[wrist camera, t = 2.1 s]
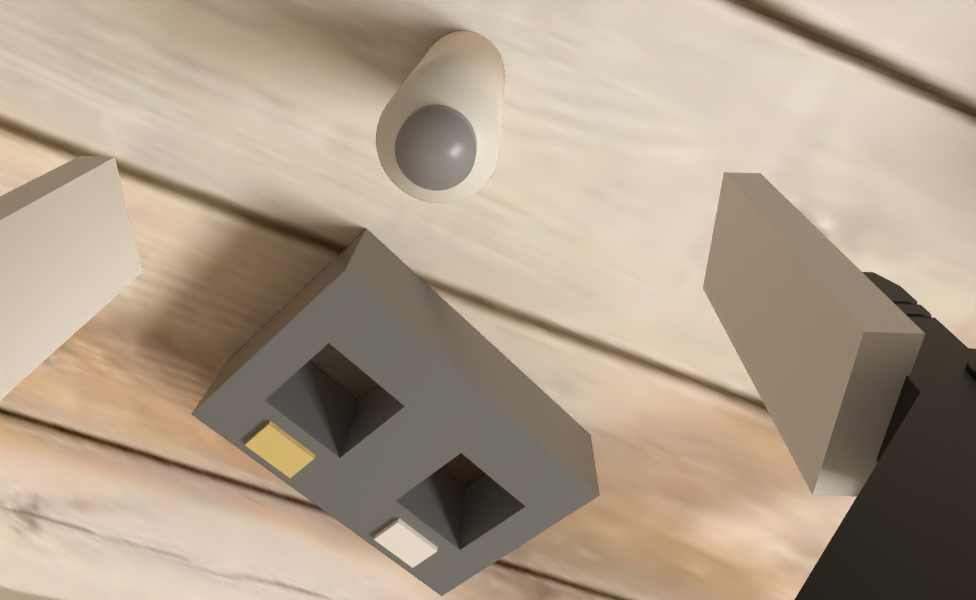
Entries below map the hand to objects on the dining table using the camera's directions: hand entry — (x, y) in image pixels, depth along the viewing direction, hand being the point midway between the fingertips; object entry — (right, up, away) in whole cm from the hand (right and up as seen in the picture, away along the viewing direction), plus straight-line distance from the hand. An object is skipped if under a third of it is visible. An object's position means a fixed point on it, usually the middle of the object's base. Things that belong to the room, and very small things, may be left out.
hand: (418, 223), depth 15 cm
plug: (0, +9, +16) cm, 19 cm away
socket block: (-3, -7, +25) cm, 26 cm away
